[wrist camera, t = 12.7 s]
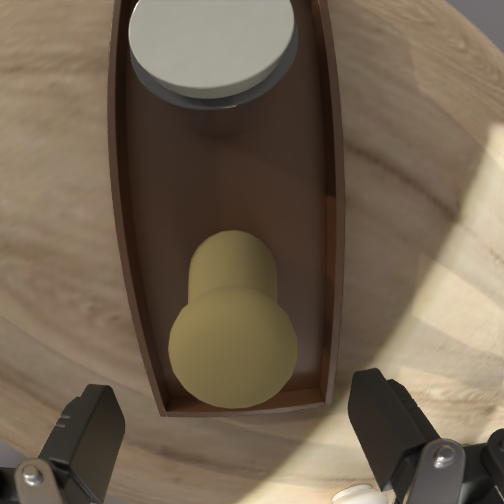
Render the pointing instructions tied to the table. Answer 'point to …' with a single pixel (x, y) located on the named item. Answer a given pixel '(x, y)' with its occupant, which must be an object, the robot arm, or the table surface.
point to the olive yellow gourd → (233, 325)
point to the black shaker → (213, 58)
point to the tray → (233, 208)
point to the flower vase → (360, 496)
